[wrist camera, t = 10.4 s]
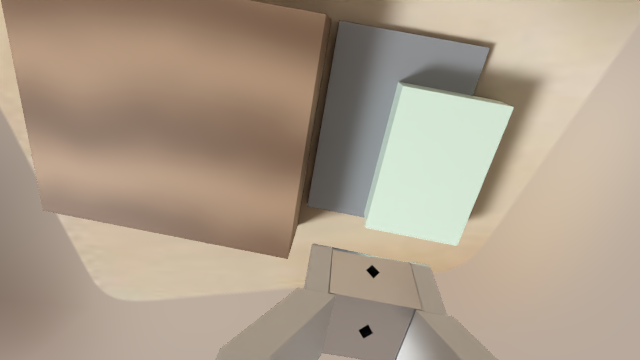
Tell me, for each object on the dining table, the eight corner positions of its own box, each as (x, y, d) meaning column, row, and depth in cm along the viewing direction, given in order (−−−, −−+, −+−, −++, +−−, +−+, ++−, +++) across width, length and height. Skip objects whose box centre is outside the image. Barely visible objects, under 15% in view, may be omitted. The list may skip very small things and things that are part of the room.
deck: (61, -30, 19) (-9, -47, 15) (331, 19, 19) (326, 14, 15) (89, 185, 25) (42, 210, 21) (297, 226, 24) (287, 258, 21)
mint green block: (514, 107, 17) (498, 100, 19) (402, 85, 18) (398, 81, 19) (457, 245, 21) (448, 229, 23) (365, 227, 21) (364, 212, 23)
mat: (339, 20, 19) (339, 20, 18) (487, 47, 19) (489, 47, 18) (308, 203, 24) (307, 206, 23) (424, 226, 23) (426, 229, 23)
